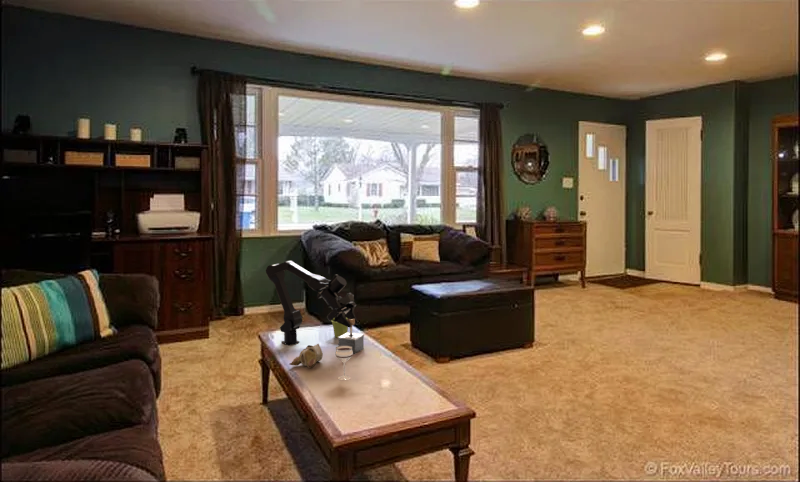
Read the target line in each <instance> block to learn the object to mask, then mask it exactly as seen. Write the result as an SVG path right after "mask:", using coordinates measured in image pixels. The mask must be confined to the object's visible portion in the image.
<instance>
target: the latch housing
mask: <svg viewBox="0 0 800 482" xmlns="http://www.w3.org/2000/svg"><path fill="white" fill-rule="evenodd" d="M364 336H365V334H363V333H356V332H352V336H350V331H347V333H345V334H343V335H341V336H339V337H338V338H337V339H338V346H343V345H347V346H352V347H353V348H352V351H353V355H357V354H358V353H360V352H361V351H363V350H364V349H365V348H364V347H365V346H364V342H365V341H364Z"/></svg>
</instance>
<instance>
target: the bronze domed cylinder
mask: <svg viewBox="0 0 800 482" xmlns="http://www.w3.org/2000/svg"><path fill="white" fill-rule="evenodd" d="M347 320H348V322H349V323H350V325H351V327H350V328H349V333H350V336H352V333H353V326H354V325H356V324H355V319H354V318H348V319H347Z"/></svg>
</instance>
